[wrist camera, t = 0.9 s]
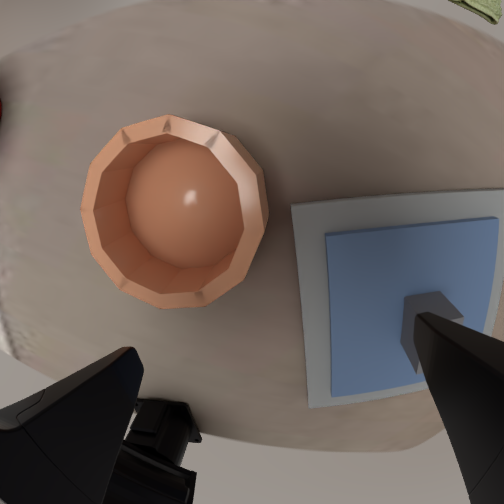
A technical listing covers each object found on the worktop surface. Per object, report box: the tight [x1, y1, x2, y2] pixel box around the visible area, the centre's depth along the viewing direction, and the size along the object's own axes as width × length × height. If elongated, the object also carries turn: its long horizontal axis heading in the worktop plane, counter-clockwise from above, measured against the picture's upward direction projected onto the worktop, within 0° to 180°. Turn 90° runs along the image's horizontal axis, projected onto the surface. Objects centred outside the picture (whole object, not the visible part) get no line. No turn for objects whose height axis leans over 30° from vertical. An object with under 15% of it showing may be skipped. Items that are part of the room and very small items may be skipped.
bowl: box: [80, 114, 269, 309], centre depth 19 cm, size 11×11×5 cm
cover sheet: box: [325, 216, 499, 398], centre depth 18 cm, size 14×14×5 cm
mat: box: [290, 188, 504, 408], centre depth 21 cm, size 18×18×1 cm
